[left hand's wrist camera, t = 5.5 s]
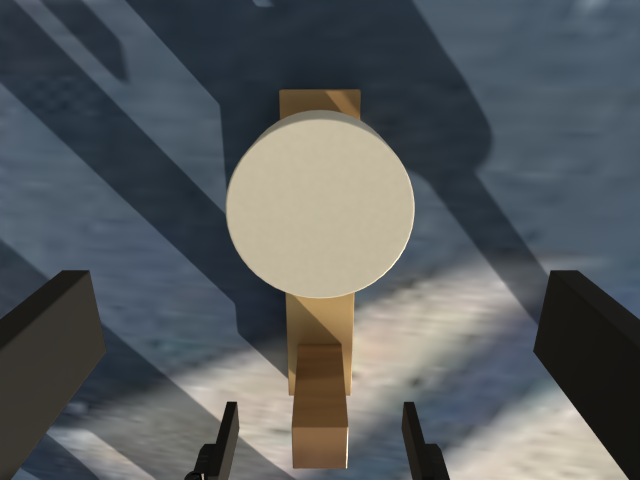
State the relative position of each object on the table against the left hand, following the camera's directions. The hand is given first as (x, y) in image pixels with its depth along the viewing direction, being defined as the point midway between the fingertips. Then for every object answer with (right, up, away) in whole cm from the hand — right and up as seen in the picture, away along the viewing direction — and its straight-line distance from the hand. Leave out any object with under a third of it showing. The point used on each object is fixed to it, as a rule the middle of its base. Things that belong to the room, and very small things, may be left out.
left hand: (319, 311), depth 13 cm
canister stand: (0, +1, +26) cm, 26 cm away
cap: (0, +5, +12) cm, 13 cm away
